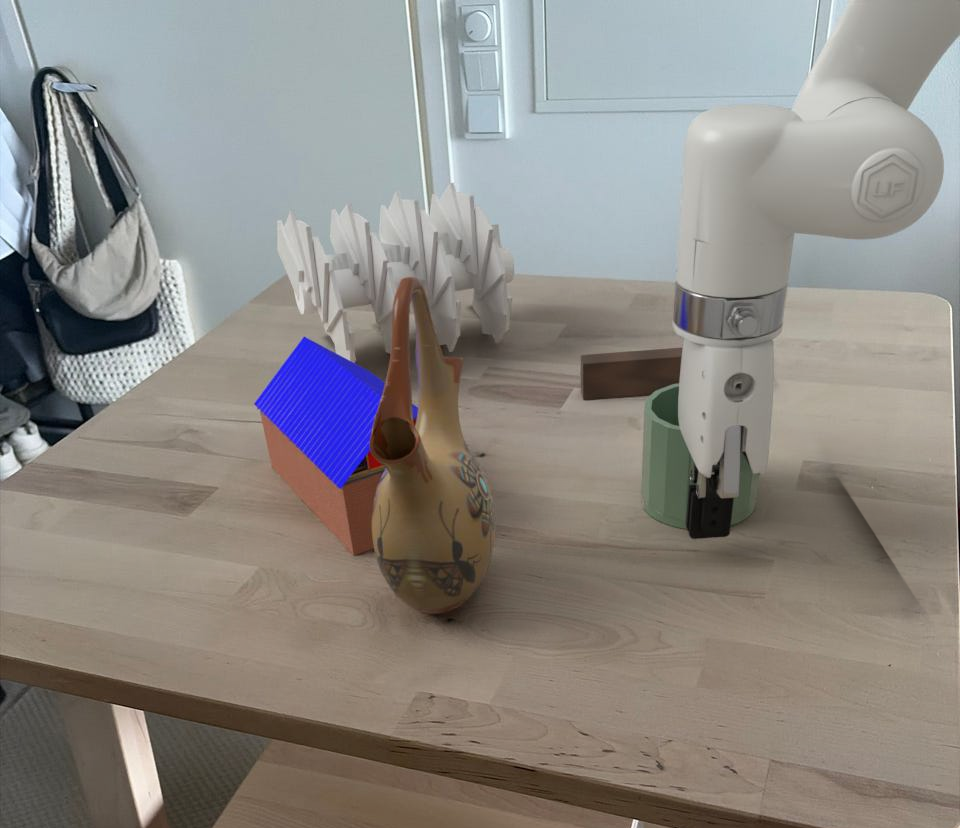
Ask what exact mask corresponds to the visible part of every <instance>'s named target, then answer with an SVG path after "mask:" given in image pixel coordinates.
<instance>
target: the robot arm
mask: <svg viewBox="0 0 960 828" xmlns="http://www.w3.org/2000/svg"><path fill="white" fill-rule="evenodd" d="M959 37H960V0H849V2H848V3H847V5H846V7H845V8H844V10H843V12H842V13H841V15H840V17H839V18H838V20H837V22H836V23H835V25H834V27H833V28H832V31H831V32H830V34H829V36H828V38H827V40H826V41H825V43H824V45H823V47H822V48H821V51H820V52H819V55H818V56H817V58H816V60H815V62H814V64H813V65H812V67H811V70H810V71H809V73H808V74H807V77H806V79H805V80H804V82H803V84H802V85H801V88H800V90H799V92H798V94H797V96H796V98H795V100H794V102H793V104H792V106H791V108H790V109H789V108H786V107H782V106H779V105H772V104H762V103H742V104H741V103H739V104H730V105H729V104H728V105H722V106H717V107H713V108H710V109H708V110H705V111H702V112H701V113H699V114H698V115H697V116H696V117H694V118H693V119H692V121H691V122H690V123H689V125H688V128H687V130H686V132H685V137H684V143H683V154H682V155H683V156H682V169H681V170H682V172H681V187H680V203H679V218H678V219H679V222H678V234H677V236H678V237H677V250H676V251H677V252H676V267H675V283H674V286H675V287H674V298H673V299H674V300H673V318H672V329H673V331H674V333H675V334H676V335H677V336H679V337H680V338H682V340H683V342H682V347H683V349H682V359H681V369H680V381H679V395H678V421H679V427H680V430H681V433H682V436H683V438H684V440H685V443H686V445H687V447H688V450H689V452H690V454H691V460H690V481H691V483H692V484H694V483H697V485H689V491H688V503H687V516H686V528H687V529H686V530H687V531H688V535H689V537H690V539H692V540H701V539H714V538H715V539H716V538H726V537H728V536H729V535H730V533H731V527H732V526H731V518H732V509H733V500H734V498H736V497H738V496H739V483H740V459H741V454H743V456H744V458H745V460H746V462H747V463H748V465H749V467H750V469H751V471H752V473H753V474H754V473H756V474H758V475H759V476H760V475H763V474H765V472H766V471H767V469H768V465H769V454H770V445H771V444H770V443H771V433H772V432H771V430H772V418H773V406H774V391H775V389H774V388H775V349H774V348H775V346H774V339H776V338H778V336H780V335H781V334H782V331H783V325H784V317H785V309H786V301H787V293H788V285H789V279H790V269H791V264H792V263H791V262H792V256H793V249H794V248H793V247H794V241H795V240H794V239H795V234H799V235H812V236H820V237H821V236H822V237H829V238H837V239H844V240H845V239H846V240H862V241H863V240H875V239H880V238H881V239H882V238H885V237H889V236H893V235H895V234H898V233H899V232H902V231H904V230H906V229H908V228H909V227H912V225H914V224H915V223H916V222H918V221H919V220H920V219H921V218H922V217H923V216H924V215H925V214H926V213H927V212H928V210H929V209H930V208H931V207H932V205H933V204H934V202H935V201H936V198H937V197H938V194H939V192H940V190H941V188H942V183H943V180H944V172H945V161H944V154H943V151H942V147H941V145H940V142H939V140H938V138H937V136H936V135H935V133H934V132H933V130H932V129H931V128H930V127H929V126H928V125H927V124H926V123H925V122H924V121H923V120H922V119H921V118H919V117H918V116H917V115H915V114H914V113H912V112H911V111H909V108H910V106H911V105H912V103H913V102H914V100H915V98H916V97H917V95H918V94H919V92H920V90H921V88H922V87H923V85H924V83H925V82H926V80H927V79H928V77H929V76H930V74H931V72H932V71H933V69H934V68H935V67H936V65H937V64H938V63H939V61H940V60H941V59H942V57H943V56H944V55H945V53H946V52H947V51H948V50H949V48H951V46H952V45H953V44H954V43H955V42H956V40H958V38H959Z"/></svg>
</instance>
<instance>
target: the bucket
mask: <svg viewBox="0 0 960 828" xmlns="http://www.w3.org/2000/svg"><path fill="white" fill-rule="evenodd" d="M678 395H679V383H678V384H672V385H669V386H667V387H664V388H662V389H659V390H656V391H655V392H654V393H653V394H651V395H648V397H647V398H646V399H644V407H643V428H642V429H643V432H642V437H643V438H642V456H641V457H642V458H641V459H642V460H641V461H642V463H641V487H640V489H641V490H640V491H641V493H640V496H641V505H642V507H643V509H644V511H645V512H646V513H647V514H648V515H649V516H650V517H651V518H653V519H654V520H656V521H657V522H659V523H662V524H664V525H667V526H671V527H673V528H678V529H684V530H687V528H686V516H687V503H688V491H689V485H697V483H694V484H692V483H691V481H690V460H691V454H690V452H689V450H688V447H687V445H686V443H685V440H684V438H683V436H682V433H681V430H680V427H679V421H678ZM759 483H760V475H758V474H756V473H754V474H753V473H752V471H751V469H750V467H749V465H748V463H747V462H746V460H745V458H744V456H743V454H741V459H740V483H739V496H738V497H736V498H734V500H733V509H732V518H731V527H732V526H735V525H737V524H740V523H741V522H743V521H745V520H746V519H748V518H749V517H750V516H751V515H752V513H753V512H754V511H755V508H756V503H757V500H758V492H759V491H758V490H759Z"/></svg>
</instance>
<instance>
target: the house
mask: <svg viewBox="0 0 960 828" xmlns="http://www.w3.org/2000/svg"><path fill="white" fill-rule="evenodd" d="M384 386H385V381H383V380H382V379H380V378H379V377H378V376H377V375H375V374H374V373H372V372H371V371H370V370H368V369H366V368H364V367H362V366H360V365H359V364H357V363H356V362H355V363H353V362H351V361H349V360H347V359H345V358H344V357H342V356H340V355H338V354H336V352H335V351H333V350H330V349H328V348H327V347H325V346H323V345H321V344H319V343H318V342H315V341H313V340H312V339H310V338H308V337H306V336H303V337H302V338H301V340H300V341H299V342H298V343H297V345H296V347H295V348H294V349H293V350H292V352H291V353H290V355H289V356H288V357H287V359H286V360H285V362H284V363H283V364H282V365H281V367H280V368H279V370H278V371H277V372H276V374H275V375H274V376H273V378H272V379H271V380H270V382H269V383H268V384H267V385H266V387H265V388H264V390H263V391H262V393H261V394H260V395H259V397H258V398H257V399H256V401H255V402H254V403H253V404H254V406H255V407H256V409H257V411H258V410H259V413H260V416H261V422H262V427H263V432H264V437H265V441H266V446H267V451H268V456H269V461H270V465H271V468H272V470H274V472H276V474H277V475H278V476H279V477H280V478H281V479H282V480H283V481H284V482H285V483H286V484H287V486H288V488H290V489H291V490H292V491H293V493H295V494H296V495H297V496H298V497H299V498H300V499H301V501H302V502H303V503H304V504H305V505H306V506H307V507H308V508H309V509H310V510H311V511H312V513H313V514H314V515H315V516H316V517H317V518H318V519H319V520H320V521H321V522H322V523H323V524H324V525H325V527H326V528H327V529H328V530H329V531H330V532H331V533H332V534H333V535H334V536H335V538H337V539H338V541H340V543H341V544H342V545H343V546H344V547H345V548H346V549H347V551H349V552H350V554H351V555H352V556H358V555H360V554H363V553H366V552H368V551H371V550H374V545H373V538H372V510H373V503H374V498H375V493H376V490H377V486H378V484H379V481H380V478H381V476H382V474H383V472H384V470H385V466H384V465H382V464H381V463H380V462H379V461H377V460H376V459H375V458H374V456H373V455H372V454H371V451H370V447H369V442H370V437H371V432H372V426H373V422H374V419H375V416H376V413H377V410H378V406H379V403H380V400H381V397H382V393H383V390H384ZM412 412H413V422H414V426H415V425H416V420H417V414H418V406H417V405H415V404H413V403H412ZM466 445H467V447H469V445H468V444H467V443H466Z"/></svg>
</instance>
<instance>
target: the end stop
mask: <svg viewBox="0 0 960 828" xmlns="http://www.w3.org/2000/svg"><path fill="white" fill-rule="evenodd" d="M682 349H683V346H681V347H669V348H657V349H644V350H643V349H642V350H631V351H630V350H628V351H616V352H615V351H614V352H604V353H590V354H580V392H581V393H580V394H581V397H582V400H583V401H586V400H587V401H588V400H589V401H590V400H601V399H614V398H628V397H629V398H630V397H642V396H650V395H651V394H653V393H654V392H655V391H656V390H659V389H662V388H664V387H667V386H669V385H672V384H678V383H679V381H680V369H681V359H682Z"/></svg>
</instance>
